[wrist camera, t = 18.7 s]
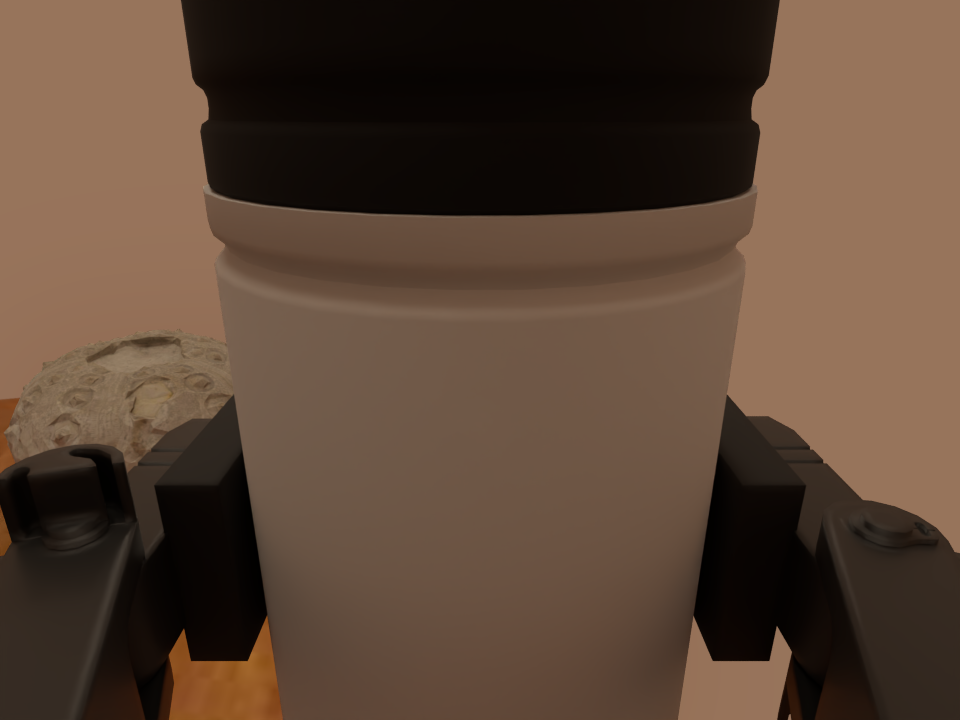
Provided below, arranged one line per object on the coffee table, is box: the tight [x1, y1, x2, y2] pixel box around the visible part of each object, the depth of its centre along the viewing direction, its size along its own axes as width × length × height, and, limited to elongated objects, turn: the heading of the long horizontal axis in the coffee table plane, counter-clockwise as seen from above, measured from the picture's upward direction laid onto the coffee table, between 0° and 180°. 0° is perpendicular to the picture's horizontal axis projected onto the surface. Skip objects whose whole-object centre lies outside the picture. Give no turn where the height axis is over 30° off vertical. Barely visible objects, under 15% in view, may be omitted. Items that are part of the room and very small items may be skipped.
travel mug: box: [181, 0, 780, 720], centre depth 10 cm, size 6×7×20 cm
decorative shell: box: [4, 329, 234, 473], centre depth 49 cm, size 18×18×10 cm
